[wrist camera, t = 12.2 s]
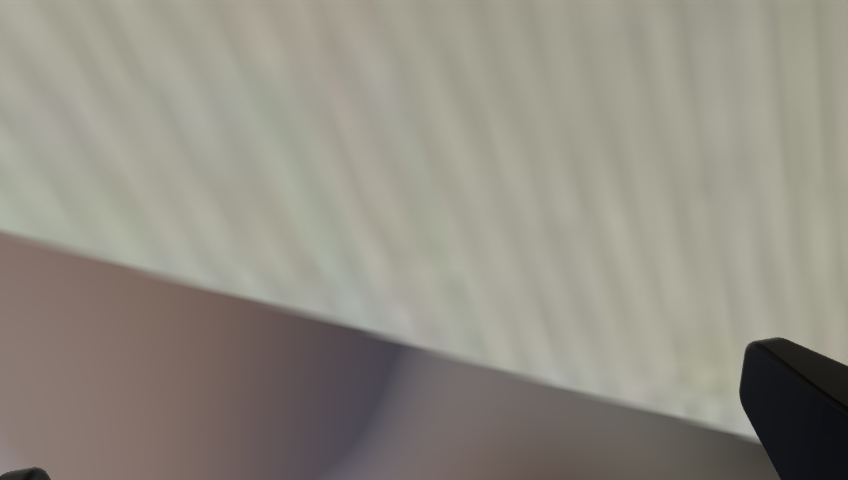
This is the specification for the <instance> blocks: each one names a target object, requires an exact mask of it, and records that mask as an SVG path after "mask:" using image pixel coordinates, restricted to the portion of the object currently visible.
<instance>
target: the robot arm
mask: <svg viewBox="0 0 848 480" xmlns="http://www.w3.org/2000/svg"><path fill="white" fill-rule="evenodd" d="M739 393H740V400H741V404H742V406H743V409H744V411H745V413H746V415H747V417H748V418H749V420H750V422H751V424H752V426H753V428H754V430H755V432H756V434H757V436H758V437H759V439H760V441H761V443H762V445H763V447H764V449H765V451H766V453H767V454H768V456H769V458H770V460H771V462H772V464H773V466H774V468H775V470H776V472H777V474H778V475H779V477H780V479H781V480H848V366H847V365H844V364H842V363H840V362H837V361H835V360H833V359H831V358H828V357H826V356H824V355H821V354H819V353H817V352H814V351H812V350H810V349H808V348H805V347H803V346H801V345H798V344H796V343H794V342H792V341H789V340H787V339H784V338H780V337H777V338H770V339H764V340H758V341H753V342H751V343H749V344H748V346H747V347H746V350H745V354H744V361H743V368H742V375H741V381H740V388H739ZM0 480H51V479H50V478H49V476H48V474H47V473H46V471H44V470H43V469H41V468H36V467H33V468H28V469H22V470H16V471H10V472H7V473H5V474H3V475H1V476H0Z"/></svg>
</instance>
